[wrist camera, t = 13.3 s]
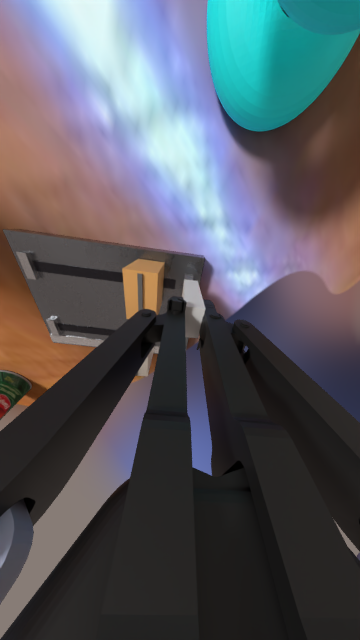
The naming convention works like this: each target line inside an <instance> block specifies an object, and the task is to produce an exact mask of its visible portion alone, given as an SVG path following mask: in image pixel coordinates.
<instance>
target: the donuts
mask: <svg viewBox="0 0 360 640" xmlns="http://www.w3.org/2000/svg"><path fill="white" fill-rule="evenodd" d="M280 6H281V7H282V9H283V10H284V11H285V12H286V14H287V15H288V16H289V17H287V16H286V14H285V13H284V12H283V11H282V9H281V7H280ZM359 34H360V0H208V7H207V45H208V56H209V64H210V70H211V75H212V79H213V83H214V87H215V90H216V93H217V95H218V98H219V100H220V102H221V104H222V106H223V108H224V109H225V111H226V112H227V114H228V115H229V116H230V117H231V118H232V120H233V121H235V122H236V123H237V124H238V125H240V126H241V127H243V128H245V129H248V130H251V131H269V130H272V129H275V128H278V127H280V126H282V125H284V124H286V123H288V122H290V121H291V120H293V119H294V118H296V117H297V116H298V115H300V114H301V113H302V112H303V111H304V110H305V109H306V108H307V107H308V106H309V105H310V104H312V103H313V102H314V101H315V99H316V98H317V97H318V96H319V95H320V94H321V93H322V92H323V90H324V89H325V88H326V87H327V85H328V84H329V83H330V81H331V80H332V78H333V77H334V76H335V74H336V73H337V71H338V70H339V68H340V67H341V65H342V64H343V62H344V61H345V59H346V57H347V56H348V54H349V52H350V51H351V49H352V47H353V45H354V43H355V41H356V39H357V37H358V36H359Z"/></svg>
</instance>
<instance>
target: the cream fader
mask: <svg viewBox="0 0 360 640" xmlns="http://www.w3.org/2000/svg"><path fill="white" fill-rule="evenodd" d="M153 353H154V347H153V349H152V350H151V352H150V353H149V355H148V356H147V358H146V360H145V361H144V363H143V364H142V366H141V367H140V369H139V371H138V372H137V374H136V375H135V376H148V373H149V369H150V365H151V361H152V357H153Z"/></svg>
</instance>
